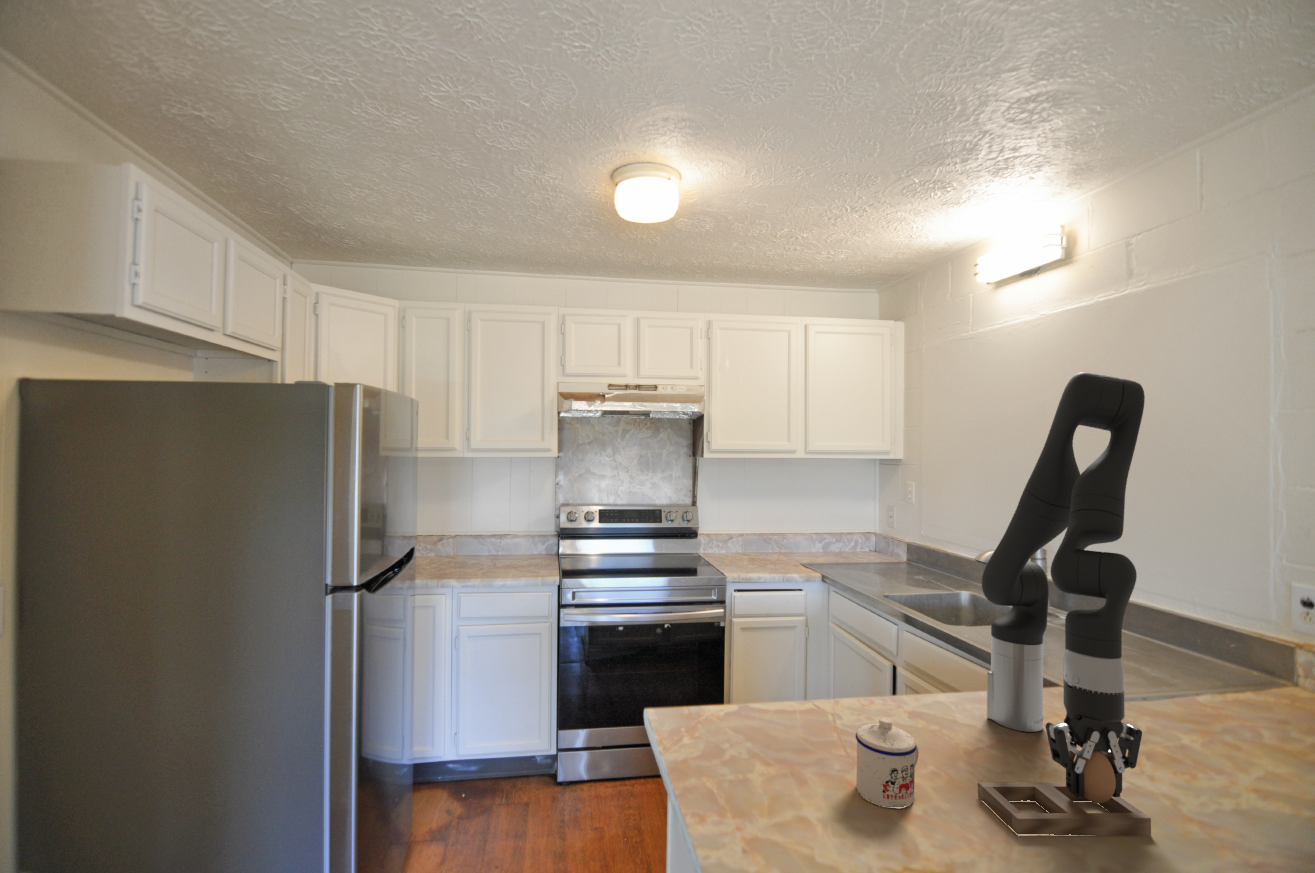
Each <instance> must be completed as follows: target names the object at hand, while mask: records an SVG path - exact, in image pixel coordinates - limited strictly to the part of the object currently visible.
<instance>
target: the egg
mask: <svg viewBox="0 0 1315 873" xmlns="http://www.w3.org/2000/svg"><path fill="white" fill-rule="evenodd" d="M1082 773H1083V774H1084V796H1085V797H1086V798H1087V799H1088V800H1090V801H1092V802H1094V803H1093V804H1097V803H1104V802H1106V801H1108V800H1109V799H1110V798H1111V797H1112V796H1113V794H1114V792H1115V788H1116V779H1115V774H1114V770H1113V768H1112V766H1111V763H1110V762H1109V760H1108V758H1107V757H1106V756H1105V755H1104V754H1103V753H1102V752H1101V751H1099V750H1098V751H1095V752H1092V754H1091V757H1090V759H1089V760H1086V762H1085V765H1084V768H1083V770H1082Z"/></svg>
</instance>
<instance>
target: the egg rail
mask: <svg viewBox="0 0 1315 873" xmlns="http://www.w3.org/2000/svg"><path fill="white" fill-rule="evenodd" d="M978 797H979V798H980V799H981V800H982V801H984V802H985V803H986V804H987V805H988V806H989V807H990V808H991V809H992V810H993V811H994V812H995V813H996V814H997V815H998V816H999V817H1000V818H1001V819H1002V820H1003V821H1004V822H1005V823H1006V824H1007V825H1009V826H1010V827H1011V828H1012V829H1013V830H1014V831H1015V832H1016V833H1017V834H1049V835H1050V834H1054V835H1069V834H1071V835H1096V836H1095V837H1142V836H1145V837H1147V836H1148V837H1151V836H1152V817H1150V816H1149V815H1148V814H1146V813H1144V812H1143V811H1142V810H1140V809H1139V808H1137V807H1135V806H1134V805H1132V804H1131V803H1129V801H1126V800H1125V799H1124V798H1123V797H1121V796H1120V797H1113V796H1112V797H1111V798H1110V799H1109V800H1108V801H1106V802H1104V803H1099V804H1100V805H1101V806H1103V807H1104V808H1105V809H1107V810H1108V811H1109V812H1110V813H1109V812H1108V811H1107V812H1087V810H1085V809H1084V808H1082V807H1081V806H1080V805H1078V804H1077V803H1074V802H1073V801H1090V800H1088V799H1087V798H1086V797H1085V796H1084V797H1083V798H1078V797H1076V796H1075V795H1073V794H1072V793H1071V792H1070V791H1069V789H1067V787H1066V781H1062V782H1061V781H1049V782H1048V781H1043V782H1042V781H1037V782H1036V781H1034V782H1033V781H1030V782H1029V781H1026V782H1025V781H1024V782H1022V781H1020V782H1019V781H1018V782H1017V781H1013V782H1012V781H1011V782H1010V781H1009V782H1008V781H1006V782H1005V781H999V782H998V781H996V782H995V781H994V782H993V781H990V782H989V781H988V782H986V781H983V782H982V781H978V782H977V798H978ZM1021 800H1023V801H1027V800H1030V801H1036V802H1037V803H1038V804H1039V805H1040V806H1042V807H1043V808H1044V809H1045V810H1047V811H1048V812H1049V813H1046V812H1045V813H1044V812H1035V813H1034V812H1033V813H1032V812H1030V813H1029V812H1028V813H1027V812H1026V813H1022V812H1021V811H1020V810H1019V809H1018V808H1016V806H1014V804H1013V803H1010V802H1009V801H1021ZM1100 805H1099V806H1100ZM1101 806H1100V807H1101ZM1104 808H1103V809H1104ZM1105 809H1104V810H1105Z"/></svg>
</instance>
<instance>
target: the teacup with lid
mask: <svg viewBox="0 0 1315 873" xmlns="http://www.w3.org/2000/svg"><path fill="white" fill-rule="evenodd" d="M855 739H856V791H857V790H858V791H857V792H858V794H859V793H860V794H861V795H860V794H859V795H860V796H861V797H862V796H863V797H864V798H865V799H867V800H869V801H870V802H873V803H875V804H877V805H880V806H885V807H904V806H908V805H910V806H912V805H911V803H912V802H913V801H915V768H916V765H917V763H918V761H919V747H918V744H916V741H915V739H914V737H913V736H912V735H910V734H909V733H908V732H906V731H905V730H903V729H901V728H898V727H897V726H894V725H893V722H892V720H891V719H889V718H887V717H883V718H881V717H880V719H879V721H878V722H877V723H869V724H864V725H862V726H860V727H859V728H858V729H857V730H856V732H855ZM863 797H862V798H863ZM864 798H863V799H864ZM865 799H864V800H865ZM867 800H866V801H867ZM869 801H868V802H869ZM870 802H869V803H870ZM913 803H914V802H913ZM877 805H876V806H877ZM880 806H879V807H880Z"/></svg>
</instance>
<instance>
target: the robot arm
mask: <svg viewBox="0 0 1315 873" xmlns="http://www.w3.org/2000/svg"><path fill="white" fill-rule="evenodd" d="M1145 399H1146V397H1145V392H1144V388H1143V386H1142V384H1141V383H1139V382H1137V381H1135V380H1130V379H1126V378H1121V377H1116V376H1115V377H1114V376H1109V375H1104V374H1098V373H1093V372H1092V373H1091V372H1085V371H1083V372H1082V371H1081V372H1077V373H1075V374H1074V375H1073V376H1072V377H1071V378H1070V380H1068V382H1067V384H1066V386H1065V387H1064V390H1063V391H1062V395H1061V397H1060V399H1059V403H1058V405H1057V408H1056V410H1055V414H1054V417H1053V420H1052V423H1051V426H1050V429H1049V431H1048V432H1049V433H1048V434H1047V438H1046V441H1045V443H1044V445H1043V449H1042V450H1041V453H1040V454H1039V457H1038V459H1037V461H1036V464H1035V466H1034V468H1033V470H1032V472H1031V474H1030V477H1029V478H1028V480H1027V482H1026V484H1025V486H1024V489H1023V491H1022V493H1021V495H1020V499H1019V501H1018V503H1017V506H1016V508H1015V511H1014V513H1013V515H1012V518H1011V520H1010V522H1009V524H1008V526H1007V528H1006V530H1005V532H1004V534H1003V536H1002V538H1001V539H1000V541H999V543H998V544H997V546H996V548H995V550H994V551H993V553H992V555H991V556H990V558H989V559H988V560H987V563H986V564H985V568H984V570H983V572H982V578H981V589H982V593H983V595H984V598H986V600H988V602H990V603H991V604H994V605H997V606H1005V607H1011V609H1010V610H1009V612H1007V613H1006V614H1005V615H1003V616H1001V617H998V618H996V619H994V620H993V621H992V623H991V627H990V633H991V638H990V640H991V641H990V647H991V648H990V649H991V650H990V652H991V653H990V670H988V671H987V673H986V674H987V675H986V718H987V719H990V720H992V721H993V722H994V723H997V724H999V725H1001V726H1003V727H1004V728H1008V729H1010V730H1011V729H1012V730H1015V731H1019V732H1026V733H1028V732H1029V733H1034V732H1036V733H1037V732H1040V731H1042V730H1043V729H1044V727H1043V725H1044V641H1043V640H1044V636H1045V635H1044V634H1045V632H1046V630H1047V627H1048V612H1049V611H1048V610H1049V599H1050V598H1049V597H1050V596H1049V595H1050V590H1049V589H1050V588H1049V581H1048V577H1047V574H1046V572H1045V570H1044V569H1043V567H1042V566H1040V565H1039V564H1038V563H1037V562H1034V561H1029V560H1030V559H1031V558H1032V557H1033V556H1034V555H1035V554H1036V553H1037V552H1038V551H1039V550H1041V549H1042V548H1043V547H1045V546H1046V545H1048V544H1049V543H1050V542H1052V541H1053V540H1055V538H1057V537H1058V536H1059V535H1061V534H1062V533H1063V532H1065V533H1064V536H1063V539H1062V540H1061V542H1060V545H1059V547H1058V549H1057V551H1056V552H1055V555H1054V556H1053V560H1052V562H1051V565H1050V577H1051V580H1052V582H1053V584H1054V585H1055V587H1056V588H1057V589H1058V590H1059V591H1061V592H1063V593H1067V594H1069V595H1078V596H1085V597H1090V598H1091V597H1093V598H1099V599H1105V604H1104V605H1103V606H1102V607H1100V608H1096V609H1095V608H1094V609H1074V610H1071V611H1068V612H1067V613H1066V614H1065V615H1066V616H1065V621H1064V630H1065V631H1064V633H1065V634H1064V635H1065V637H1064V639H1065V640H1064V642H1065V644H1064V645H1065V646H1064V656H1063V671H1062V672H1063V706H1064V709H1065V712H1066V715H1065V718H1064V719H1063V722H1060V723H1056V724H1053V723H1052V722H1047V723H1046V724H1045V731H1046V734H1047V735H1046V736H1047V740H1048V745H1049V750H1050V755H1051V759H1052V760H1053V761H1054V762H1055V763H1057V764H1059V765H1060V766H1062V767H1063V768H1064V769H1065V782H1066V787H1067V789H1069V791H1070V792H1071V793H1072V794H1073V795H1075V796H1076V797H1078V798H1083V797H1084V774H1083V773H1082V770H1083V768H1084V765H1085V762H1086V760H1089V759H1090V757H1091V754H1092V752H1095V751H1098V750H1099V751H1101V752H1102V753H1103V754H1104V755H1105V756H1106V757H1107V758H1108V760H1109V762H1110V763H1111V766H1112V768H1113V770H1114V774H1115V779H1116V788H1115V792H1114V794H1113V797H1121V794H1122V791H1123V774H1124V773H1125V770H1126V769H1129V768H1130V769H1135V768H1136V766H1137V763H1138V757H1139V754H1140V746H1141V743H1142V742H1141V741H1142V736H1143V731H1142V730H1141V729H1140V728H1138V727H1136V726H1134V725H1132V724H1130V723H1128V722H1125V721H1124V722H1122V721H1123V720H1124V719H1125V717H1126V716H1125V670H1124V669H1125V668H1124V665H1123V657H1122V656H1123V653H1122V652H1123V651H1122V648H1123V647H1122V646H1123V645H1122V642H1123V640H1122V638H1123V636H1122V633H1123V623H1124V617H1125V613H1126V610H1127V607H1128V604H1129V602H1130V598H1131V596H1132V594H1133V591H1134V589H1135V585H1136V583H1137V569H1136V566H1135V564H1134V563H1133V562H1132V561H1131V559H1130V558H1129V557H1128V556H1126V555H1124V554H1121V553H1117V552H1109V551H1108V552H1107V551H1096V550H1087V548H1088V547H1089V546H1092V545H1097V544H1098V545H1099V544H1106V543H1107V544H1108V543H1113V542H1117V541H1119V539H1120V540H1121V538H1122V536H1123V534H1124V525H1125V524H1124V523H1125V522H1124V521H1125V506H1126V490H1127V482H1128V477H1129V473H1130V468H1131V465H1132V461H1133V457H1134V453H1135V449H1136V445H1137V442H1138V436H1139V433H1140V432H1139V431H1140V429H1141V428H1140V427H1141V425H1142V424H1141V423H1142V419H1143V415H1144V410H1145ZM1078 426H1083V427H1089V428H1094V429H1099V430H1102V431H1107V432H1110V438H1109V442H1108V445H1107V446H1106V448H1104V451H1103V452H1102V453H1101V454H1100V455H1099V456H1098V457H1097V458H1096V459H1095V460H1094V461H1093V462H1092V463H1091V464H1090V465H1088V466H1087V467H1086V468H1085V469H1084V470H1083V472H1082V473H1081V472H1080V469H1079V467H1078V463H1077V459H1076V457H1075V452H1074V447H1073V444H1074V442H1073V441H1074V437H1075V432H1076V430H1077V428H1078ZM1065 530H1066V531H1065ZM1078 746H1079V747H1080V748H1081V749H1080V748H1078Z"/></svg>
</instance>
